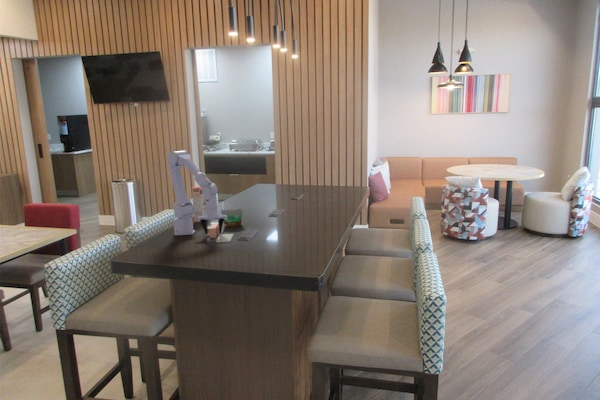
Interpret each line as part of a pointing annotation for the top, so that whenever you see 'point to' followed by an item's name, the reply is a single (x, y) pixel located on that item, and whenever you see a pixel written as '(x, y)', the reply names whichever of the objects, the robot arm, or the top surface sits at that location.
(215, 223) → the white u-shaped piece
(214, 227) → the salmon pink rectangular prism
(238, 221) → the food container
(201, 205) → the cracker box
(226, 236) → the white rectangular board
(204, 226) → the robot arm
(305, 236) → the top surface
